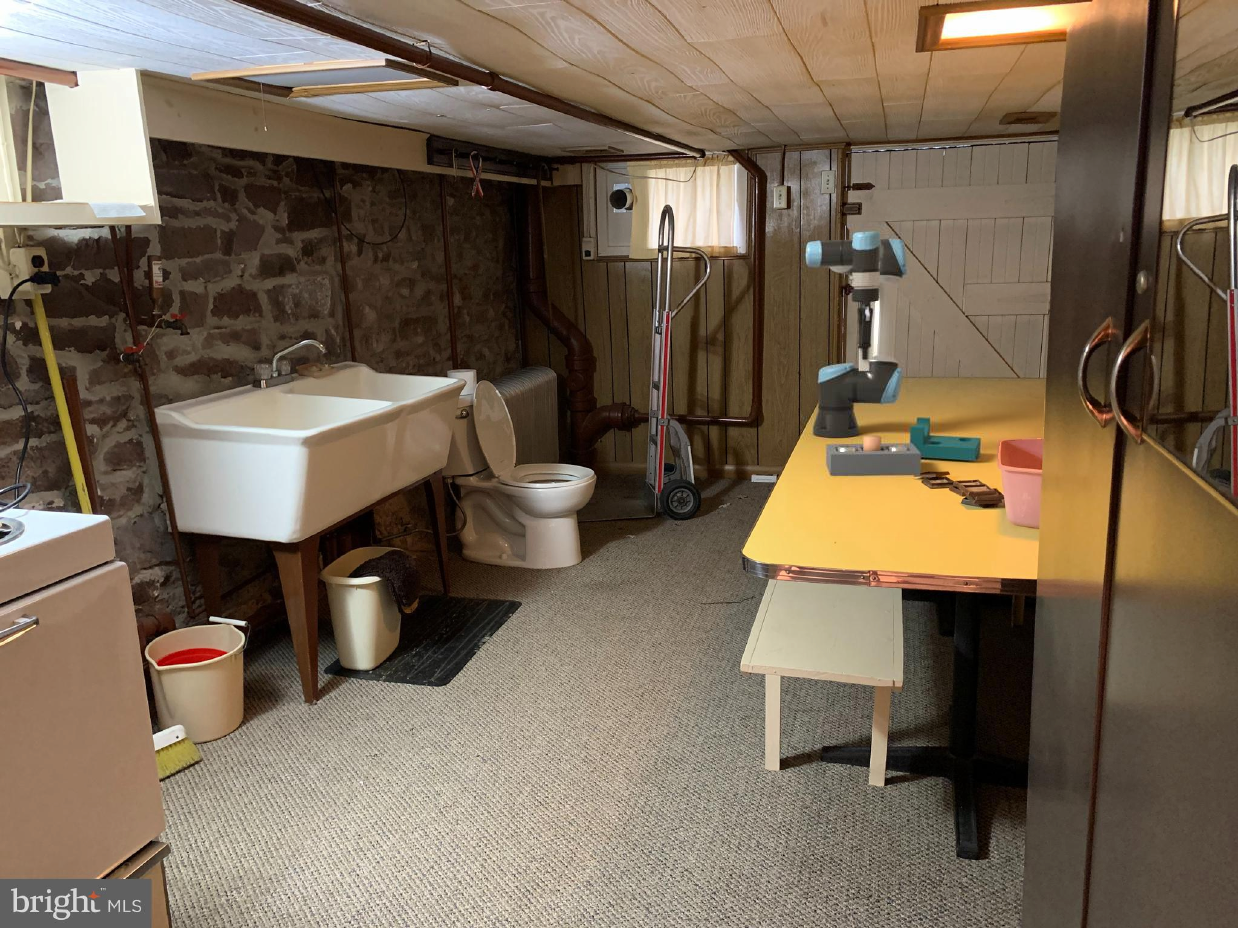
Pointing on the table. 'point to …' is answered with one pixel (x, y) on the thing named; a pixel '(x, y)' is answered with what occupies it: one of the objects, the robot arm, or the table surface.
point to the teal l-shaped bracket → (943, 443)
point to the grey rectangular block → (873, 460)
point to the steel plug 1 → (846, 448)
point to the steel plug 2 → (897, 448)
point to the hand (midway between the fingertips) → (864, 370)
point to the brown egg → (872, 443)
